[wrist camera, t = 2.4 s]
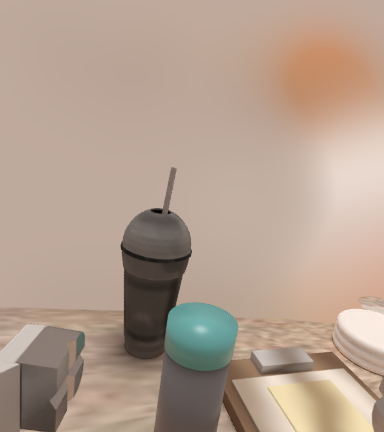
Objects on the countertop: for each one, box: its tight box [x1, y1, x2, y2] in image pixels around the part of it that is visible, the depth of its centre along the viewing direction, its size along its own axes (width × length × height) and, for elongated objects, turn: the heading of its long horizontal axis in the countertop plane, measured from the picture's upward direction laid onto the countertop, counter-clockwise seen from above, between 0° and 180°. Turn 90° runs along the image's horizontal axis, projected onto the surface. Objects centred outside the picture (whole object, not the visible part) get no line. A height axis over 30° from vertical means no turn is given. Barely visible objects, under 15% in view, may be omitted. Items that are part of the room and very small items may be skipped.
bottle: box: [154, 303, 238, 432], centre depth 24 cm, size 5×5×12 cm
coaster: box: [333, 309, 384, 376], centre depth 43 cm, size 10×10×4 cm
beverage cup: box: [121, 167, 192, 359], centre depth 36 cm, size 7×7×20 cm
